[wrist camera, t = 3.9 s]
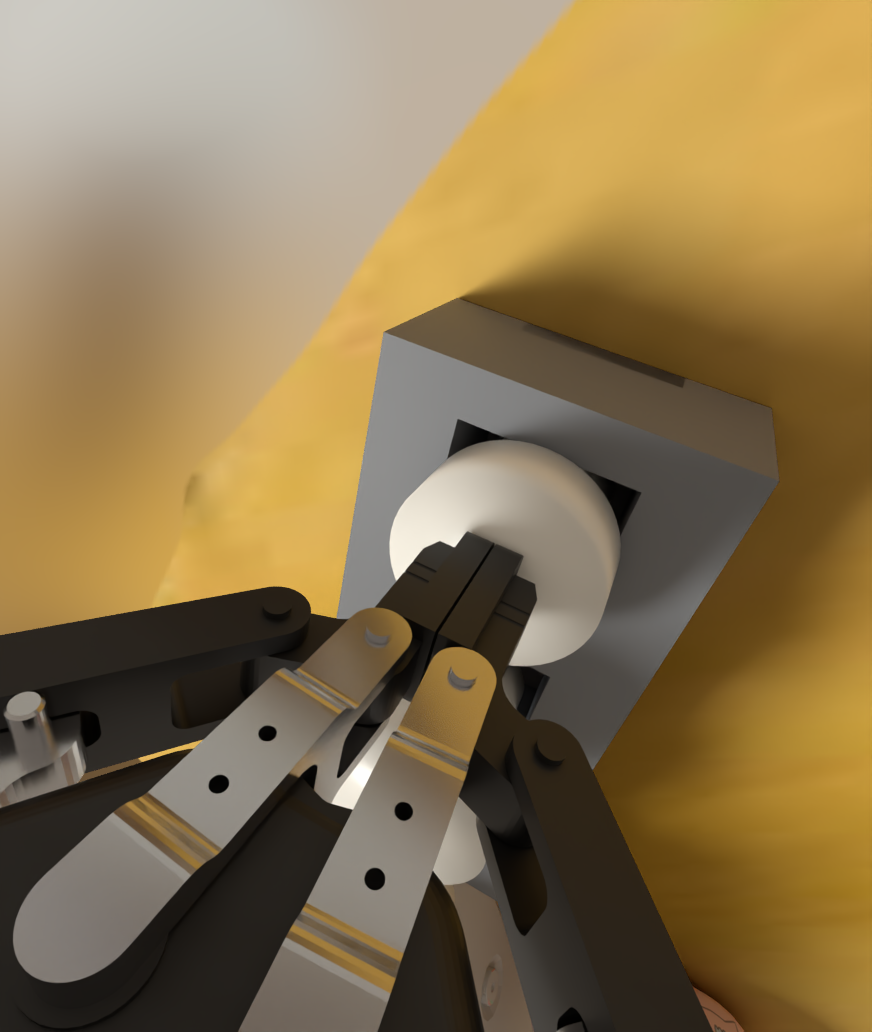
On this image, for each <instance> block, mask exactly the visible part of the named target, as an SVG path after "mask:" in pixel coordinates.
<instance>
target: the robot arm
mask: <svg viewBox="0 0 872 1032" xmlns="http://www.w3.org/2000/svg"><path fill="white" fill-rule="evenodd" d="M494 545H495V543H493V542H491V541H489V540H487V539H484V538H482V537H480V536H478V535H475V534H473V533H471V532H469V531H467V532H466V533H465V534H464V536H463V537H462V538H461V540H460V541H459V542H458V544H457V545H456V546H455V547H452V546H450V545H448V544H446V543H444V542H441V541H439V542H436V543H434V544H432V545H430V546H427V547H425V548H423V550H422V551H421V552H420V553H419V554H418V556H417V557H416V558H415V559H414V561H413V563H411V564H410V565H409V566H408V568H407V569H406V570H405V572H404V573H403V574H402V575H401V576H400V577H399V579H398V580H397V581H396V582H395V583H394V585H393V586H392V587H391V588H390V590H389V591H388V592H387V593H386V594H385V596H384V597H383V598H382V599H381V600H380V602H379V603H378V604H377V605H376V606H375V608H367V609H363V610H360V611H358V612H357V613H355V614H354V615H353V616H352V617H350V618H349V619H337V618H331V617H326V616H321V615H316V614H311V607H310V604H309V602H308V601H307V599H306V598H305V597H304V596H303V595H302V594H300V593H299V592H297V591H295V590H293V589H290V588H286V587H266V588H261V589H255V590H250V591H244V592H239V593H233V594H228V595H222V596H216V597H211V598H205V599H200V600H194V601H189V602H183V603H178V604H172V605H166V606H161V607H155V608H150V609H144V610H139V611H133V612H128V613H123V614H116V615H111V616H105V617H100V618H94V619H89V620H84V621H78V622H73V623H66V624H61V625H55V626H50V627H44V628H38V629H33V630H28V631H22V632H16V633H11V634H5V635H0V1032H484V1027H483V1022H482V1017H481V1012H480V1007H479V1002H478V998H477V993H476V988H475V983H474V978H473V973H472V968H471V963H470V959H469V954H468V949H467V944H466V939H465V935H464V931H463V927H462V924H461V921H460V918H459V915H458V912H457V909H456V907H455V905H454V903H453V901H452V899H451V896H450V895H449V893H448V891H447V890H446V888H445V886H444V885H443V883H442V882H441V880H440V879H439V878H438V876H437V875H436V874H435V873H434V871H433V868H434V865H435V862H436V859H437V857H438V854H439V851H440V848H441V845H442V842H443V840H444V837H445V834H446V831H447V828H448V825H449V822H450V820H451V817H452V814H453V811H454V808H455V805H456V802H457V800H458V797H459V798H460V799H461V800H462V801H463V802H464V803H465V804H466V805H467V806H468V807H469V808H470V809H471V810H472V811H473V812H474V813H475V814H476V827H477V832H478V835H479V839H480V842H481V846H482V850H483V853H484V857H485V860H486V864H487V867H488V871H489V874H490V878H491V881H492V885H493V888H494V892H495V895H496V899H497V902H498V906H499V910H500V913H501V917H502V920H503V924H504V927H505V931H506V934H507V938H508V941H509V945H510V948H511V952H512V955H513V959H514V962H515V966H516V969H517V973H518V977H519V980H520V984H521V987H522V991H523V994H524V998H525V1001H526V1005H527V1008H528V1012H529V1015H530V1019H531V1022H532V1026H533V1029H534V1032H713V1030H712V1027H711V1025H710V1023H709V1021H708V1019H707V1017H706V1015H705V1012H704V1010H703V1008H702V1006H701V1004H700V1002H699V999H698V997H697V995H696V993H695V991H694V989H693V986H692V984H691V982H690V980H689V978H688V976H687V973H686V971H685V969H684V967H683V965H682V963H681V960H680V958H679V956H678V954H677V952H676V950H675V948H674V945H673V943H672V941H671V939H670V937H669V935H668V932H667V930H666V928H665V926H664V924H663V922H662V919H661V917H660V915H659V913H658V911H657V909H656V906H655V904H654V902H653V900H652V898H651V896H650V893H649V891H648V889H647V887H646V885H645V883H644V881H643V878H642V876H641V874H640V872H639V870H638V868H637V865H636V863H635V861H634V859H633V857H632V855H631V852H630V850H629V848H628V846H627V844H626V842H625V839H624V837H623V835H622V833H621V831H620V829H619V826H618V824H617V822H616V820H615V818H614V816H613V814H612V811H611V809H610V807H609V805H608V803H607V801H606V798H605V796H604V794H603V792H602V790H601V788H600V785H599V783H598V781H597V779H596V777H595V775H594V772H593V770H592V768H591V766H590V764H589V762H588V760H587V757H586V755H585V753H584V751H583V749H582V747H581V745H580V743H579V742H578V740H577V739H576V738H575V737H574V736H573V734H572V733H571V732H569V731H568V730H567V729H566V728H564V727H563V726H561V725H559V724H557V723H555V722H552V721H549V720H543V719H535V720H530V721H528V720H527V719H526V718H525V717H524V716H523V715H521V714H520V713H519V712H518V711H517V710H516V709H515V708H514V707H513V706H512V704H511V703H510V702H509V700H508V698H507V697H506V694H505V692H504V689H503V684H502V678H503V676H504V674H505V672H506V670H507V668H508V665H509V663H510V661H511V659H512V657H513V655H514V652H515V650H516V648H517V646H518V644H519V642H520V639H521V637H522V635H523V632H524V630H525V628H526V625H527V623H528V621H529V618H530V616H531V614H532V611H533V609H534V607H535V604H536V602H537V594H536V587H535V584H534V583H532V582H530V581H528V580H526V579H523V578H521V577H519V576H517V573H518V570H519V568H520V565H521V563H522V560H523V557H524V556H523V555H521V554H518V553H516V552H514V551H512V550H509V549H507V548H505V547H503V546H500V545H498V544H496V545H495V546H494ZM402 698H403V699H405V700H407V701H409V702H411V703H410V705H409V707H408V709H407V711H406V713H405V715H404V717H403V719H402V721H401V723H400V725H399V727H398V729H397V731H396V732H395V731H394V732H393V733H392V734H391V736H390V737H389V739H388V741H387V743H386V745H385V747H384V749H383V751H382V753H381V755H380V757H379V759H378V761H377V763H376V765H375V767H374V769H373V771H372V773H371V775H370V777H369V779H368V781H367V783H366V785H365V787H364V789H363V791H362V793H361V795H360V797H359V799H358V801H357V803H356V805H355V807H354V809H353V810H352V809H349V808H345V807H341V806H338V805H334V804H332V801H333V799H334V797H335V796H336V794H337V792H338V791H339V789H340V788H341V786H342V785H343V783H344V782H345V781H346V779H347V778H348V777H349V776H350V774H351V773H352V772H353V770H354V769H355V768H356V766H357V765H358V764H359V762H360V761H361V760H362V758H363V757H364V756H365V754H366V753H367V752H368V750H369V749H370V748H371V746H372V745H373V744H374V742H375V741H376V740H377V738H378V737H379V736H380V734H381V733H382V732H383V730H384V729H385V728H386V726H387V725H388V723H389V720H390V716H391V715H392V714H393V712H394V711H395V709H396V708H397V706H398V705H399V703H400V701H401V700H402ZM202 739H204V740H203V741H202V742H201V743H199V744H198V745H197V746H196V747H195V748H194V749H187V750H182V751H177V752H173V753H170V754H166V755H163V756H160V757H157V758H154V759H151V760H148V761H144V762H141V763H138V764H135V765H133V766H129V767H126V768H123V769H120V770H116V771H113V772H110V773H107V774H104V775H101V776H98V777H95V778H92V779H89V780H86V781H82V782H79V783H77V782H78V781H79V780H80V779H81V777H82V775H83V774H84V773H88V772H91V771H94V770H98V769H101V768H105V767H108V766H112V765H115V764H119V763H122V762H126V761H129V760H133V759H136V758H140V757H143V756H147V755H150V754H154V753H157V752H161V751H164V750H168V749H171V748H175V747H178V746H182V745H185V744H189V743H192V742H195V741H199V740H202Z"/></svg>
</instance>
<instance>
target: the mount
mask: <svg viewBox="0 0 872 1032" xmlns="http://www.w3.org/2000/svg"><path fill="white" fill-rule="evenodd" d="M504 437H505V438H507V439H509V440H513V441H522V442H527V443H532V444H535V445H538V446H541V447H544V448H547V449H549V450H552V451H554V452H556V453H558V454H560V455H562V456H563V457H565V458H567V459H568V460H570V461H571V462H573V463H574V464H576V465H577V466H578V467H579V468H582V469H584V470H587V471H589V472H592V473H594V474H597V475H599V476H602V477H604V478H607V479H609V480H612V481H614V482H615V489H614V493H613V496H612V499H611V501H610V505H611V507H612V510H613V512H614V515H615V517H616V520H617V524H618V528H619V532H620V542H621V550H620V560H619V564H618V568H617V572H616V575H615V578H614V581H613V584H612V587H611V590H610V594H609V597H608V600H607V603H606V606H605V609H604V612H603V615H602V618H601V620H600V622H599V625H598V627H597V628H596V630H595V631H594V633H593V635H592V636H591V637H590V638H589V639H588V640H587V641H586V643H585V644H584V645H582V646H581V647H580V648H579V649H577V650H576V651H575V652H573V653H571V654H570V655H568V656H566V657H564V658H562V659H559V660H556V661H554V662H550V663H546V664H542V665H534V666H520V668H521V671H522V674H523V678H524V692H523V695H522V698H521V700H520V703H519V705H518V707H517V711H518V712H519V713H520V714H521V715H523V716H524V717H525V718H526V719H527V720H528V721H530V720H535V719H543V720H549V721H552V722H555V723H557V724H559V725H561V726H563V727H564V728H566V729H567V730H568V731H569V732H571V733H572V734H573V736H574V737H575V738H576V739H577V740H578V742H579V743H580V745H581V747H582V749H583V751H584V753H585V755H586V757H587V760H588V762H589V764H590V766H591V768H592V770H593V769H594V767H595V766H596V764H597V763H598V761H599V760H600V758H601V757H602V755H603V753H604V752H605V750H606V749H607V747H608V746H609V744H610V743H611V741H612V740H613V738H614V736H615V735H616V733H617V732H618V730H619V729H620V727H621V726H622V724H623V722H624V721H625V719H626V718H627V716H628V715H629V713H630V712H631V710H632V709H633V707H634V705H635V704H636V702H637V701H638V699H639V698H640V696H641V695H642V693H643V692H644V690H645V688H646V687H647V685H648V684H649V682H650V681H651V679H652V678H653V676H654V674H655V673H656V671H657V670H658V668H659V667H660V665H661V664H662V662H663V661H664V659H665V657H666V656H667V654H668V653H669V651H670V650H671V648H672V647H673V645H674V644H675V642H676V640H677V639H678V637H679V636H680V634H681V633H682V631H683V630H684V628H685V626H686V625H687V623H688V622H689V620H690V619H691V617H692V616H693V614H694V613H695V611H696V609H697V608H698V606H699V605H700V603H701V602H702V600H703V599H704V597H705V596H706V594H707V592H708V591H709V589H710V588H711V586H712V585H713V583H714V582H715V580H716V578H717V577H718V575H719V574H720V572H721V571H722V569H723V568H724V566H725V565H726V563H727V561H728V560H729V558H730V557H731V555H732V554H733V552H734V551H735V549H736V548H737V546H738V544H739V543H740V541H741V540H742V538H743V537H744V535H745V534H746V532H747V531H748V529H749V527H750V526H751V524H752V523H753V521H754V520H755V518H756V517H757V515H758V513H759V512H760V510H761V509H762V507H763V506H764V504H765V503H766V501H767V500H768V498H769V496H770V495H771V493H772V492H773V490H774V489H775V487H776V486H777V484H778V483H779V472H778V463H777V453H776V444H775V434H774V425H773V415H772V408H769V407H766V406H763V405H761V404H758V403H755V402H752V401H749V400H746V399H743V398H741V397H738V396H735V395H732V394H729V393H726V392H723V391H721V390H718V389H715V388H712V387H709V386H706V385H704V384H701V383H698V382H695V381H692V380H689V379H686V378H684V377H681V376H678V375H675V374H672V373H669V372H667V371H664V370H661V369H658V368H655V367H652V366H649V365H647V364H644V363H641V362H638V361H635V360H632V359H629V358H627V357H624V356H621V355H618V354H615V353H612V352H610V351H607V350H604V349H601V348H598V347H595V346H592V345H590V344H587V343H584V342H581V341H578V340H575V339H573V338H570V337H567V336H564V335H561V334H558V333H555V332H553V331H550V330H547V329H544V328H541V327H538V326H535V325H533V324H530V323H527V322H524V321H521V320H518V319H516V318H513V317H510V316H507V315H504V314H501V313H498V312H496V311H493V310H490V309H487V308H484V307H481V306H478V305H476V304H473V303H470V302H467V301H464V300H461V299H459V298H456V299H454V300H452V301H450V302H448V303H446V304H443V305H441V306H439V307H437V308H435V309H433V310H430V311H428V312H426V313H424V314H422V315H420V316H417V317H415V318H413V319H411V320H409V321H407V322H404V323H402V324H400V325H398V326H396V327H394V328H391V329H389V330H387V331H385V332H384V334H383V340H382V346H381V352H380V358H379V364H378V370H377V376H376V382H375V388H374V394H373V400H372V406H371V413H370V419H369V425H368V431H367V437H366V443H365V449H364V455H363V461H362V467H361V473H360V479H359V485H358V491H357V498H356V504H355V510H354V516H353V522H352V528H351V534H350V540H349V546H348V552H347V558H346V564H345V570H344V576H343V582H342V589H341V595H340V601H339V607H338V613H337V619H349V618H350V617H352V616H353V615H354V614H355V613H357V612H358V611H360V610H363V609H367V608H375V606H376V605H377V604H378V603H379V602H380V600H381V599H382V598H383V597H384V596H385V594H386V593H387V592H388V591H389V590H390V588H391V587H392V586H393V585H394V583H395V582H396V579H395V576H394V573H393V569H392V566H391V559H390V534H391V529H392V525H393V522H394V519H395V517H396V515H397V513H398V511H399V509H400V507H401V506H402V505H403V503H404V502H405V500H406V499H407V498H408V497H409V496H410V495H411V494H412V493H413V492H414V491H415V490H416V489H417V488H418V487H419V486H420V485H421V484H422V483H423V482H424V481H425V480H426V479H427V478H428V477H429V476H430V475H431V474H432V473H433V472H434V471H435V470H436V469H437V468H439V467H440V466H441V465H442V464H443V463H444V462H445V461H446V460H447V459H448V458H449V457H451V456H452V455H454V454H455V453H456V452H458V451H460V450H462V449H464V448H466V447H469V446H471V445H474V444H477V443H482V442H487V441H493V440H503V439H504ZM465 883H467V884H469V885H470V886H472V887H474V888H475V889H477V890H479V891H480V892H482V893H484V894H485V895H487V896H489V897H491V898H492V899H494V900H496V901H497V899H496V895H495V892H494V888H493V885H492V881H491V878H490V874H489V871H488V867H487V864H486V862H485V865H484V868H483V869H482V871H481V872H480V873H479V874H478V875H477V876H476V877H475V878H473V879H471V880H469V881H467V882H465Z"/></svg>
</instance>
